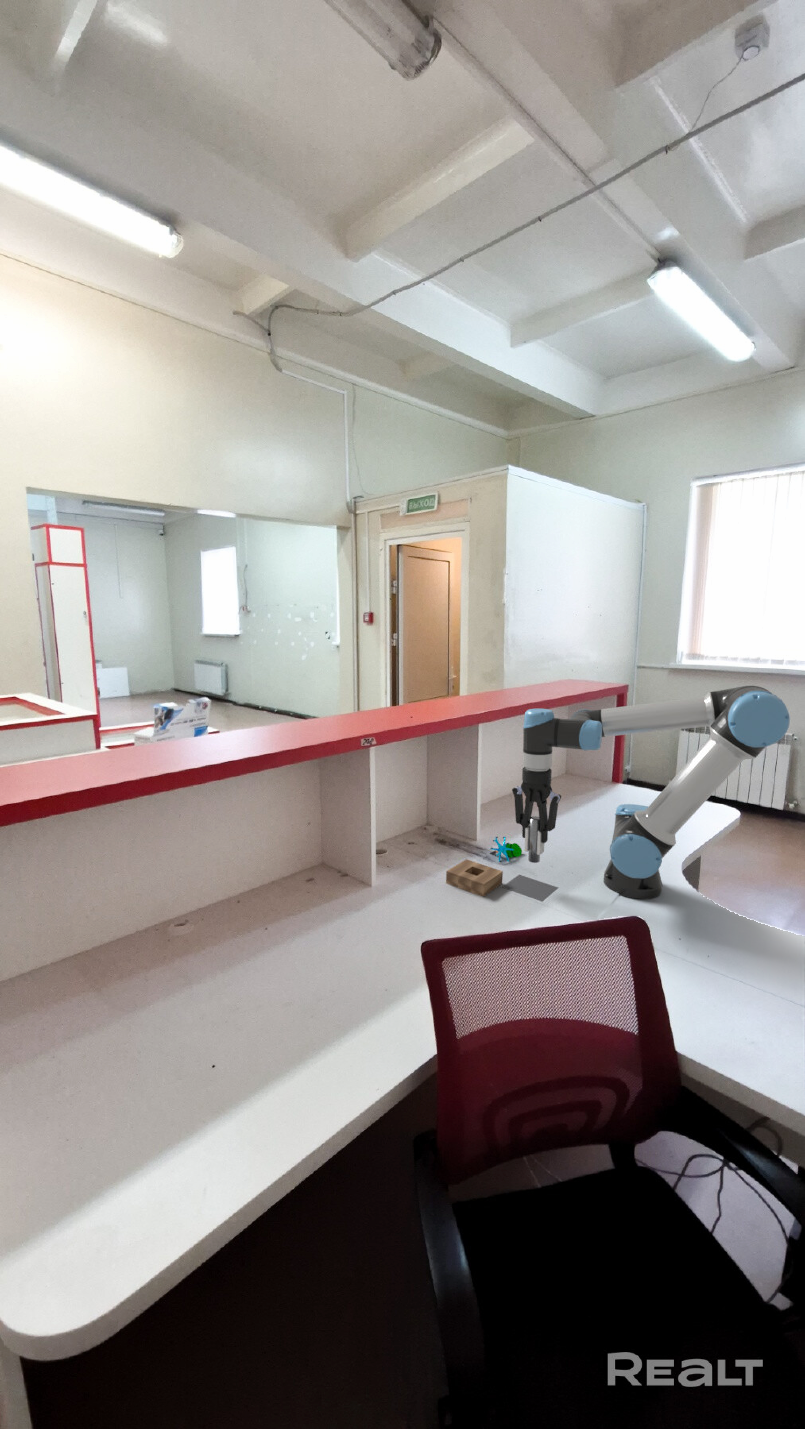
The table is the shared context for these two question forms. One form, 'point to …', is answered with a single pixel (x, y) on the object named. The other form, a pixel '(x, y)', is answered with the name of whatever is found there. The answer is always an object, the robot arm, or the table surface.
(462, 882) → the wooden block with hole
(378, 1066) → the table surface
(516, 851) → the stick construction toy
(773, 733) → the robot arm
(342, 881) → the table surface
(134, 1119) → the table surface
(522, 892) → the mat
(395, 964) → the table surface
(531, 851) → the pin
